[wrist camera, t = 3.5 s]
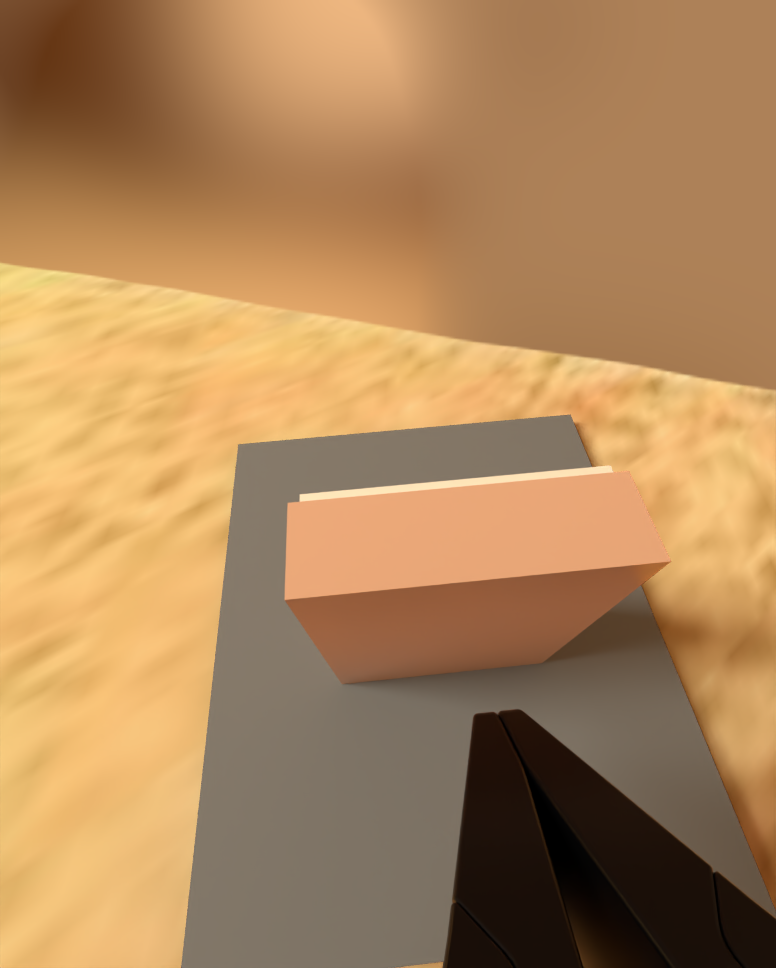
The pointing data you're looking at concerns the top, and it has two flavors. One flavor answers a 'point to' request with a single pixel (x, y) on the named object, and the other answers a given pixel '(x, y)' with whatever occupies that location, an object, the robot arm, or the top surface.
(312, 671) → the mat
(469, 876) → the robot arm
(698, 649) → the top surface
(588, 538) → the tile
